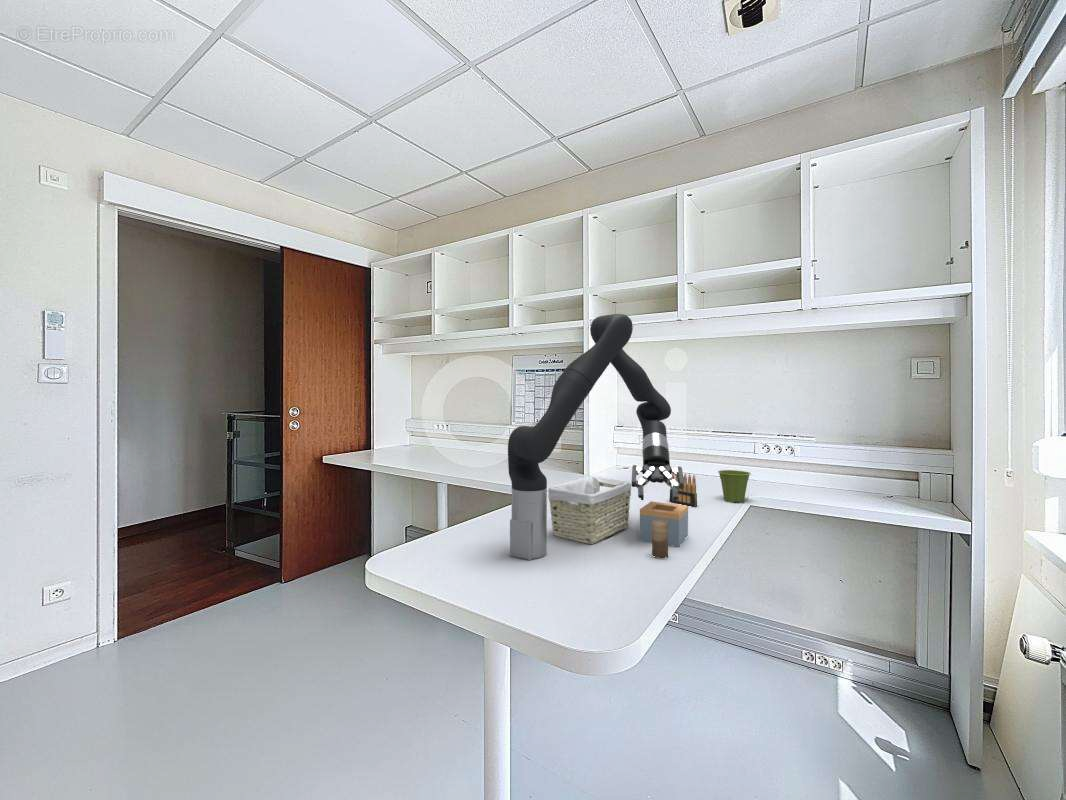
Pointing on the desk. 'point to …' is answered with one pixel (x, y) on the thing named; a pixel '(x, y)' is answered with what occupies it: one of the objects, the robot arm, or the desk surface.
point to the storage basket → (589, 508)
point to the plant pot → (734, 484)
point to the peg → (660, 538)
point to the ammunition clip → (686, 492)
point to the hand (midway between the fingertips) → (658, 499)
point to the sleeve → (670, 513)
